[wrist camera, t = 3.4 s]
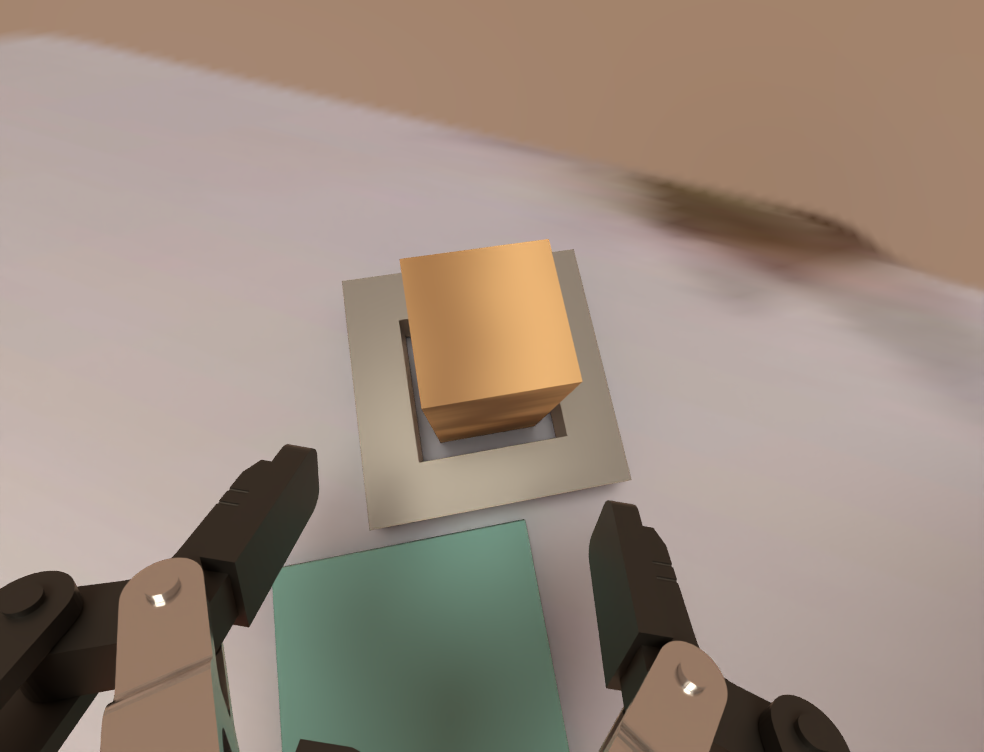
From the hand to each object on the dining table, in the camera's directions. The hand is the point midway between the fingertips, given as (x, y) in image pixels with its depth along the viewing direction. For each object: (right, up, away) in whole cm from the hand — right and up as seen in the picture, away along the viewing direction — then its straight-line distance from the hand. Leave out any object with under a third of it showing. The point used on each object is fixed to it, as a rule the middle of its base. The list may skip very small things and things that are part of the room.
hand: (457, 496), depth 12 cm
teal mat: (-2, -11, +8) cm, 13 cm away
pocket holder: (0, +3, +11) cm, 12 cm away
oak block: (0, +3, +11) cm, 12 cm away
